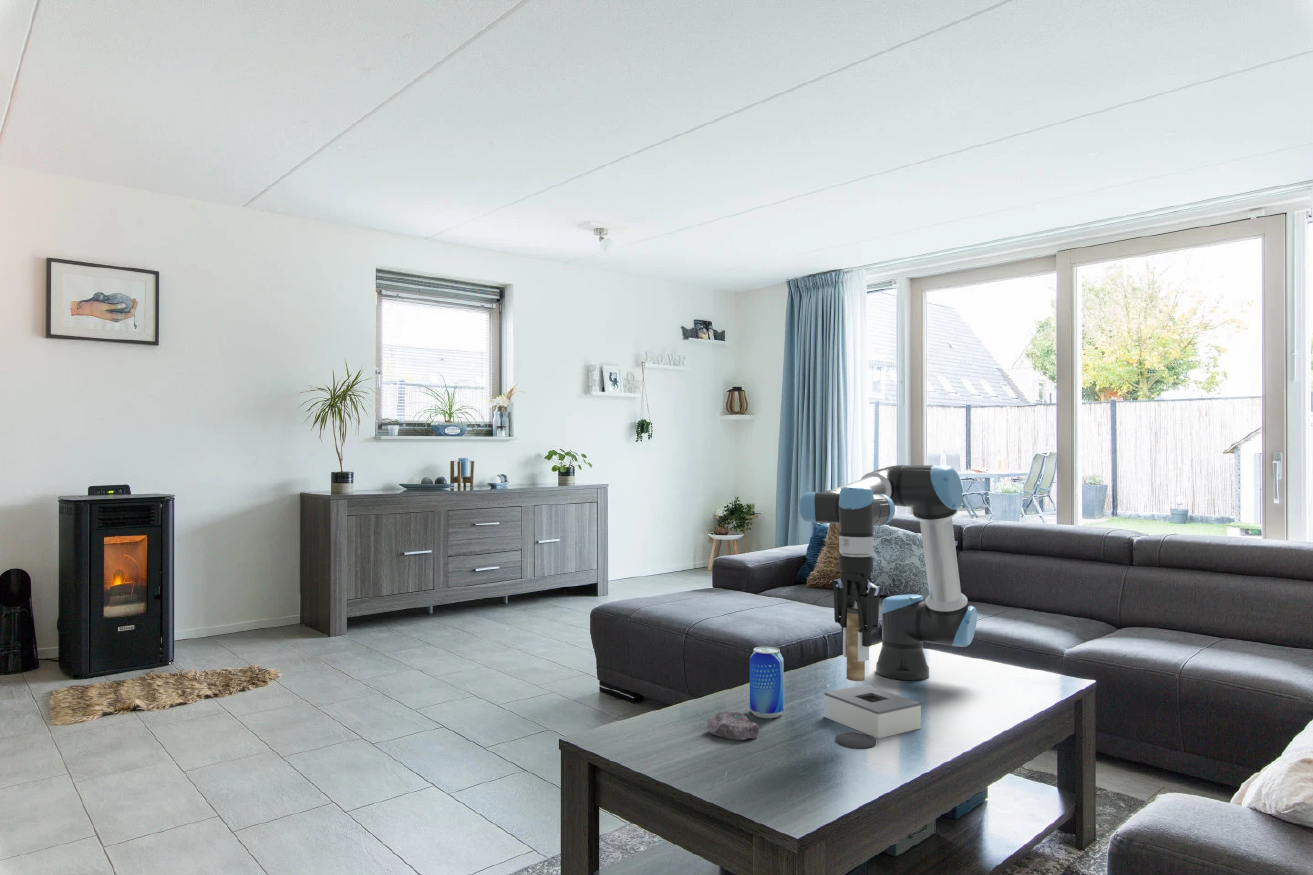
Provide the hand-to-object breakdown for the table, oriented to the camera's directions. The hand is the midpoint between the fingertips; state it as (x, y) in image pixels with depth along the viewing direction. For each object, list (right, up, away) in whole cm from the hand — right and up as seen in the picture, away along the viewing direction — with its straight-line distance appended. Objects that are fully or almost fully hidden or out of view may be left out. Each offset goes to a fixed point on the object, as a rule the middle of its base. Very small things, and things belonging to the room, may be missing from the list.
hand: (855, 657), depth 186 cm
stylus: (0, -5, 0) cm, 5 cm away
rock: (-28, -19, +4) cm, 34 cm away
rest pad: (0, -19, 0) cm, 19 cm away
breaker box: (+7, -19, +13) cm, 24 cm away
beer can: (-18, -19, +19) cm, 33 cm away
